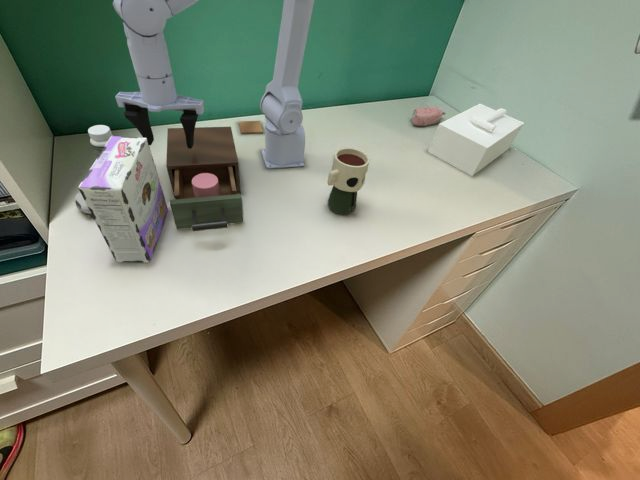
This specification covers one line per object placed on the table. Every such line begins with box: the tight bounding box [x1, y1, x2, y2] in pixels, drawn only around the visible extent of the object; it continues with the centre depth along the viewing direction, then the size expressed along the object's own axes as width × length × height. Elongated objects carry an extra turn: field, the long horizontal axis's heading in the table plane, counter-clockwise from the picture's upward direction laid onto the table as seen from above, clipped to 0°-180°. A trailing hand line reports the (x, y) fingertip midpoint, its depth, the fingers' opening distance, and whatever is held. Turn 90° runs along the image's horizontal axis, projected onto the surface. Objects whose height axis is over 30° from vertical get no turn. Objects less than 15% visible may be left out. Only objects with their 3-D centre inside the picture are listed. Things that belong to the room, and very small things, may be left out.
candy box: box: [77, 135, 169, 264], centre depth 55 cm, size 14×6×16 cm, turn 5°
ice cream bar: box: [411, 106, 446, 127], centre depth 107 cm, size 6×4×15 cm
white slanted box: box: [427, 103, 525, 177], centre depth 95 cm, size 14×25×11 cm, turn 134°
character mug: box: [327, 146, 371, 215], centre depth 69 cm, size 11×7×13 cm, turn 130°
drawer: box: [169, 166, 245, 232], centre depth 64 cm, size 18×12×6 cm
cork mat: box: [238, 120, 264, 135], centre depth 92 cm, size 6×6×1 cm
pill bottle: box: [87, 124, 114, 158], centre depth 71 cm, size 5×5×8 cm
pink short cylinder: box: [192, 173, 220, 198], centre depth 64 cm, size 5×5×6 cm
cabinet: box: [165, 126, 242, 199], centre depth 72 cm, size 15×14×8 cm
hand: (170, 144), depth 65 cm, fingers open, 7 cm apart
